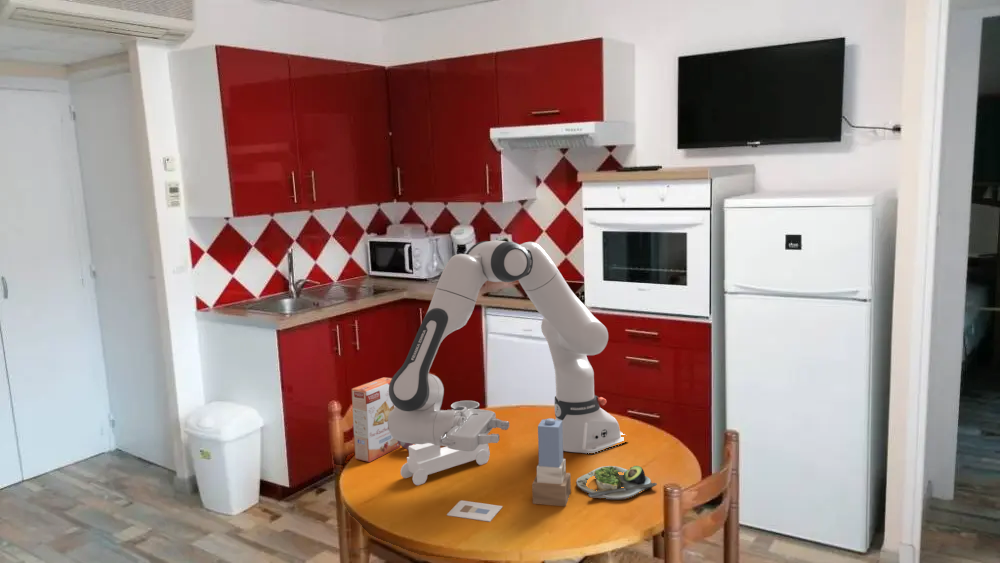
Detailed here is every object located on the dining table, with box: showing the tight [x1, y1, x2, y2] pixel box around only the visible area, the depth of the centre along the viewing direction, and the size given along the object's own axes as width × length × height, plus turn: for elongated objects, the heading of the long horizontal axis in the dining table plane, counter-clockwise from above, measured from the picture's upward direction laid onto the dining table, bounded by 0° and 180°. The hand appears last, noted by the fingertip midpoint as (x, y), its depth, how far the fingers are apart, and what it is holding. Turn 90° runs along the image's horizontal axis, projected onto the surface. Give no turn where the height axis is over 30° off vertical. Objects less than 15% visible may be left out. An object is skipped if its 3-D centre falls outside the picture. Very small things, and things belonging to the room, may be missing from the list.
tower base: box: [531, 458, 572, 507], centre depth 183 cm, size 8×8×9 cm
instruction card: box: [446, 500, 503, 523], centre depth 178 cm, size 8×11×1 cm
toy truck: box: [400, 443, 491, 486], centre depth 203 cm, size 25×7×9 cm, turn 127°
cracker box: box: [351, 376, 401, 463], centre depth 216 cm, size 14×6×21 cm, turn 148°
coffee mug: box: [450, 400, 480, 410], centre depth 226 cm, size 12×9×10 cm
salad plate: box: [575, 465, 658, 500], centre depth 188 cm, size 19×18×5 cm
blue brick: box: [537, 417, 564, 467], centre depth 182 cm, size 5×5×11 cm
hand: (503, 431), depth 184 cm, fingers open, 8 cm apart
